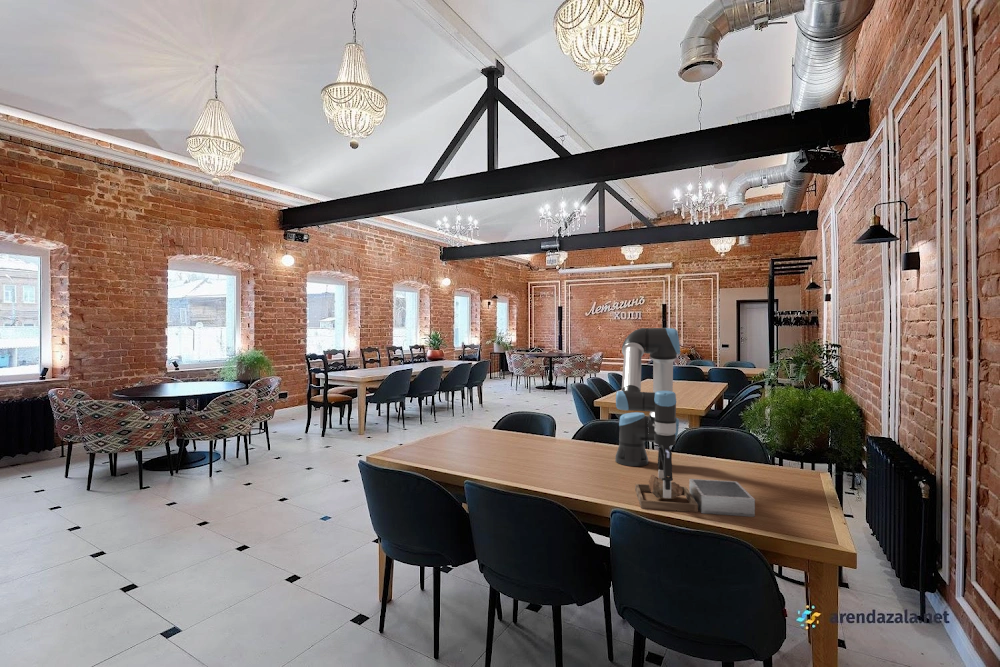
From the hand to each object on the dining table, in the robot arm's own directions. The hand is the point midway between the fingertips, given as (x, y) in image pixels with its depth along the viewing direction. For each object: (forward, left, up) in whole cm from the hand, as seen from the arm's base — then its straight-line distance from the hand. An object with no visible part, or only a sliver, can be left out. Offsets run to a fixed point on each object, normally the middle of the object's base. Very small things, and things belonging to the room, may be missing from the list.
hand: (664, 492), depth 175 cm
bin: (+1, +19, -3) cm, 19 cm away
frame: (0, 0, -3) cm, 3 cm away
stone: (0, +1, -1) cm, 1 cm away
